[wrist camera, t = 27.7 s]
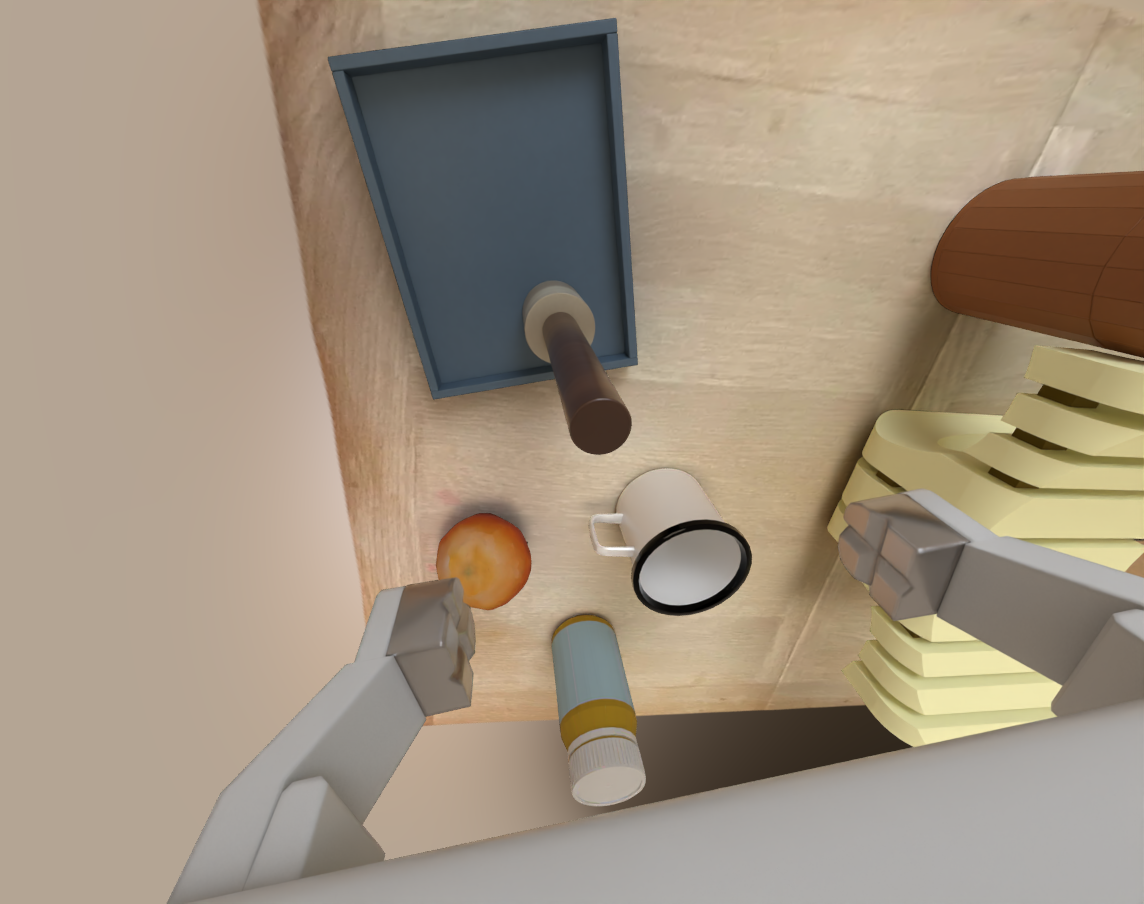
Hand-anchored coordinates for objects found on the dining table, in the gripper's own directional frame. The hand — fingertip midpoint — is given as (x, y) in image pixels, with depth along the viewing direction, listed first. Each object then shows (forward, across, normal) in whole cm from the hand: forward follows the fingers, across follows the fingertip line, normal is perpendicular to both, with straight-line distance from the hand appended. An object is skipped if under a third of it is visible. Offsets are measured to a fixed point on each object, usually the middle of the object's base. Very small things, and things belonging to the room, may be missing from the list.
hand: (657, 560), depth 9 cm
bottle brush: (+26, 0, 0) cm, 26 cm away
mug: (+26, -6, +19) cm, 33 cm away
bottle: (+26, +2, +35) cm, 44 cm away
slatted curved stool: (+26, -32, +21) cm, 47 cm away
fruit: (+26, +9, +19) cm, 34 cm away
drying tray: (+26, +2, -5) cm, 27 cm away
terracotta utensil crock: (+26, -34, +1) cm, 43 cm away
